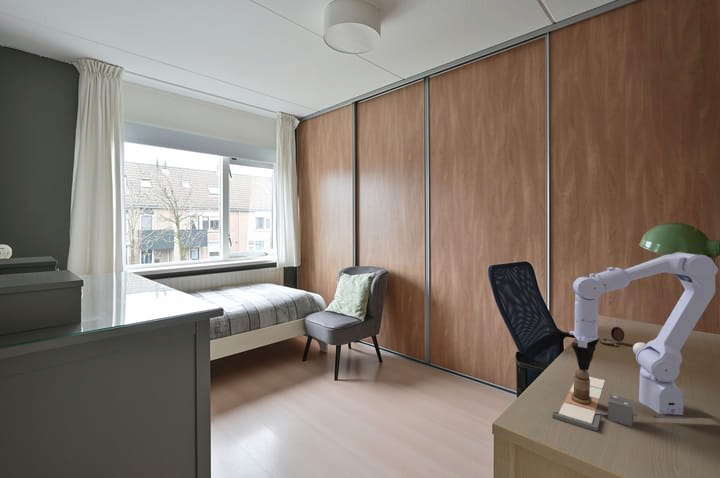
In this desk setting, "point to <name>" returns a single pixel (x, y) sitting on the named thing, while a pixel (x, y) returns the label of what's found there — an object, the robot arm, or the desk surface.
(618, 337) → the compass
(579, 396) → the pawn
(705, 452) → the desk surface
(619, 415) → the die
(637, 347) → the seamed sphere
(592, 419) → the board
